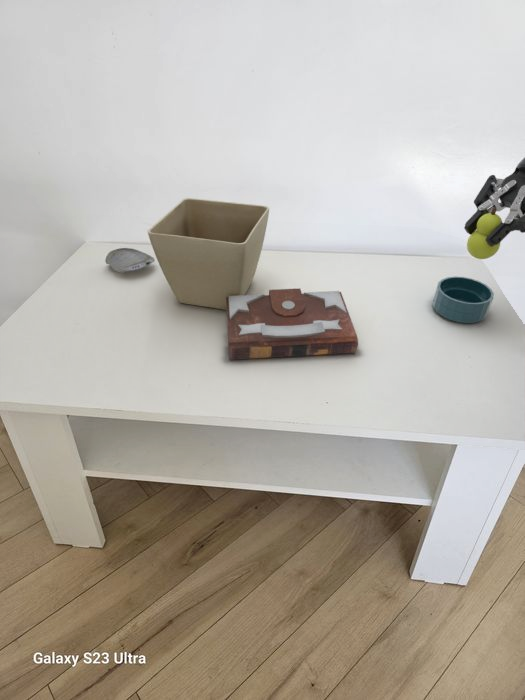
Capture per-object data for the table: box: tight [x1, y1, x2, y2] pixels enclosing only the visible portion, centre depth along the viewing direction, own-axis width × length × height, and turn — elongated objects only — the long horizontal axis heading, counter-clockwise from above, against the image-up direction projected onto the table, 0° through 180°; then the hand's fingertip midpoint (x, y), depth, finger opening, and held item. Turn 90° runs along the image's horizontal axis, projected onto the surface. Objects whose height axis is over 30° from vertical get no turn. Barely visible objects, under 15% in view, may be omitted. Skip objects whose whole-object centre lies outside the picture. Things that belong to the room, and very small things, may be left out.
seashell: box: [104, 247, 156, 273], centre depth 106 cm, size 12×8×5 cm
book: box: [226, 287, 359, 361], centre depth 87 cm, size 23×16×5 cm
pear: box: [466, 207, 503, 260], centre depth 81 cm, size 5×5×9 cm
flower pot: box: [147, 197, 270, 311], centre depth 95 cm, size 19×19×17 cm
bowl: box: [432, 276, 495, 324], centre depth 94 cm, size 11×11×5 cm
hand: (478, 237), depth 81 cm, fingers closed on pear, 4 cm apart
